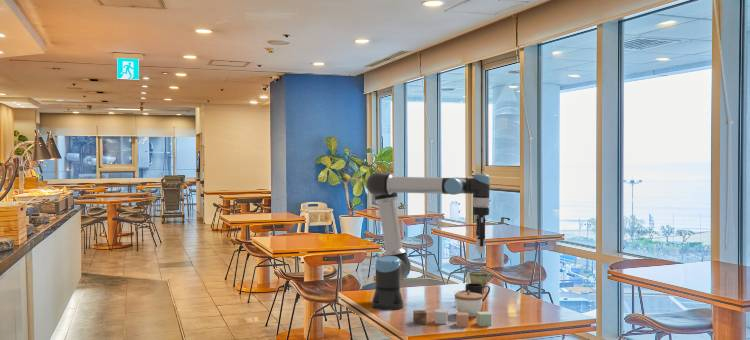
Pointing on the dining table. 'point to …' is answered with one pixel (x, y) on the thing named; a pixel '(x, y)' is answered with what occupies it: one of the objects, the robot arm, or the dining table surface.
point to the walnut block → (419, 317)
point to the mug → (477, 289)
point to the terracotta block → (462, 319)
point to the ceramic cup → (479, 277)
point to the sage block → (483, 318)
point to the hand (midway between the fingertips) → (480, 251)
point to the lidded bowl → (468, 302)
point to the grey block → (441, 316)
